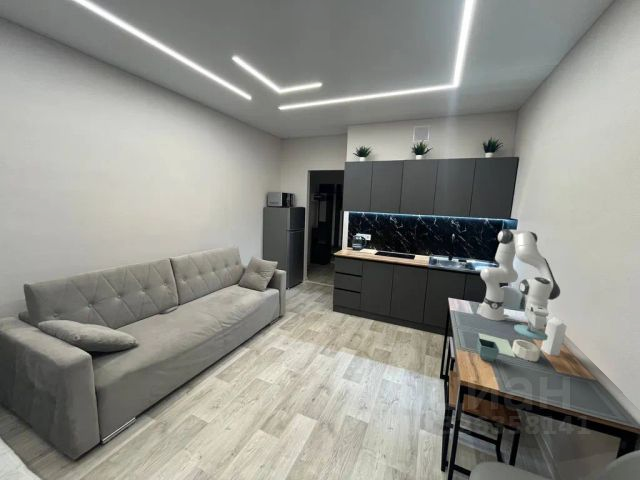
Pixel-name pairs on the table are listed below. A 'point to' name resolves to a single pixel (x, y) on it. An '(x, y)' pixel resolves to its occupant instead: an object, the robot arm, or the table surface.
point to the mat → (500, 344)
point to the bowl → (526, 350)
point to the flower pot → (487, 349)
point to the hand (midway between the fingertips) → (531, 329)
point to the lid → (530, 332)
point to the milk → (554, 336)
